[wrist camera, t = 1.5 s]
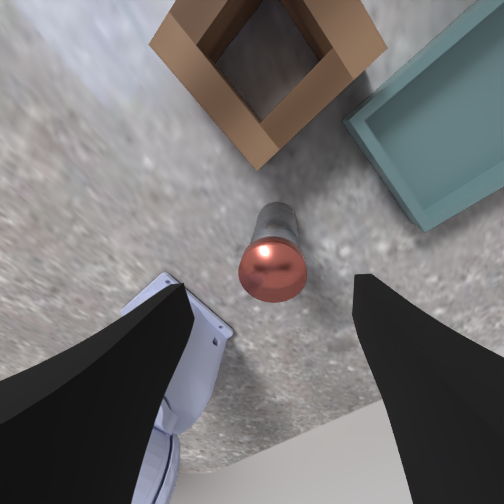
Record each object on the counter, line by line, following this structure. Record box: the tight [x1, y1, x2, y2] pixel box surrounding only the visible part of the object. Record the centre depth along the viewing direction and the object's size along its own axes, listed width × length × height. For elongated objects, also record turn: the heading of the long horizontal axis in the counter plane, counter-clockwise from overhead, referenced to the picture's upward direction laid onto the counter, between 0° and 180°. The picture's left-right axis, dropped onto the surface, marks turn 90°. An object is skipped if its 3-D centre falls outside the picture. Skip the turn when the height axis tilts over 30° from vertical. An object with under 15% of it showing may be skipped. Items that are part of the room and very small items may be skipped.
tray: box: [342, 0, 504, 232], centre depth 13 cm, size 9×12×2 cm
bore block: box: [149, 0, 387, 171], centre depth 13 cm, size 8×8×4 cm
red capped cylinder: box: [238, 202, 307, 303], centre depth 15 cm, size 3×3×8 cm
